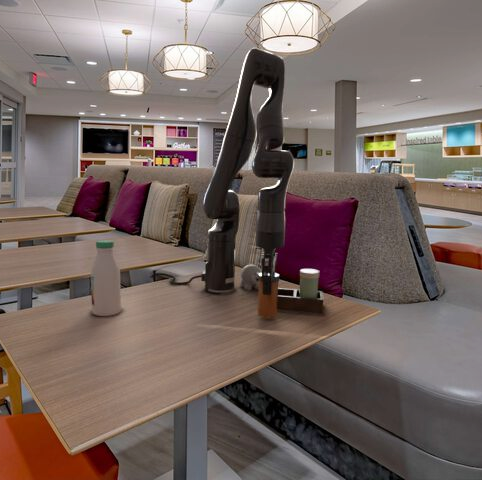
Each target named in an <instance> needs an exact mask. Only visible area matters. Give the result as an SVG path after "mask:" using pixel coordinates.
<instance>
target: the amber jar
mask: <svg viewBox="0 0 482 480" xmlns="http://www.w3.org/2000/svg"><path fill="white" fill-rule="evenodd" d="M265 275H268V276H269V272H265ZM261 277H262V273H259V274H258V280H259V289H257V290H258V293H257V315H258V316H259V317H263V318H275V317H277V315H278V310H277V302H278V288H279V281H280V274H279V273H277V272H275V273H273V274H272V278H273V280H272V287H271V295H264V294H263V280H262V278H261Z"/></svg>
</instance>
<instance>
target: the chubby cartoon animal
mask: <svg viewBox="0 0 482 480" xmlns="http://www.w3.org/2000/svg"><path fill="white" fill-rule="evenodd" d="M259 273H262V270H261V267H259V266H258V265H256V264H247V265H245V266H244V267H243V268H242V270H241V272H240V278H241V280H240V283H239V284H240V287H241V288H244V290H246V291H252V290H253V289H254V290H259V280H258V274H259Z"/></svg>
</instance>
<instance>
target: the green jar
mask: <svg viewBox="0 0 482 480" xmlns="http://www.w3.org/2000/svg"><path fill="white" fill-rule="evenodd" d="M320 274H321V273H320V270H318V269H315V268H301V269H300V270H299V290H300V291H299V297H304V298H316V299H317V294H318V291H319V279H320Z"/></svg>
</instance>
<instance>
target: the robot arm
mask: <svg viewBox="0 0 482 480" xmlns="http://www.w3.org/2000/svg"><path fill="white" fill-rule="evenodd" d="M285 81H286V64H285V60H284V58H283V57H282V56H280V55H278V54H276V53H272V52H269V51H266V50H263V49H261V48H257V47H253V48H251V49H250V50H249V51H248V53H247V54H246V56H245V58H244V62H243V65H242V69H241V74H240V78H239V83H238V88H237V92H236V97H235V101H234V104H233V107H232V110H231V111H232V112H231V115H230V119H229V122H228V123H227V124H228V125H227V128H226V129H225V130H226V131H225V134H224V137H223V141H222V145H221V149H220V152H219V155H218V158H217V160H216V161H217V162H216V165H215V168H214V170H213V174H212V176H211V178H210V181H209V184H208V187H207V189H206V191H205V194H204V196H203V201H202V211H203V213H204V215H205V217H206V218H207V219H209V220H216V222H215V224H214V226H212V227H211V228H210V229H208V231H207V244H206V245H207V249H206V250H207V252H206V254H207V255H206V262H205V266H204V267H205V268H204V270H203V272H202V273H201V274H199V275H194V276H191V278H189V280H188V281H182V282H177V281H175V280H176V276H175V275H171V274H168V273H164V272H157V273H156V272H155V273H153V274H152V275H150V278H151V279H152V278H154V277H156V276H165V277H168V278H171V279H170V280H169V283H170V284H172V285H179V286H180V285H187V284H190V283H191V282H192V281H193V280H195V279H200V278H201V280H200V281H201V282H204V291H205V292H207V293H211V294H217V295H221V294H227V293H232V292H234V291H235V277H236V242H237V240H236V239H237V234H238V231H239V226H240V214H241V213H240V212H241V202H240V197H239V196H238V193H236V192H235V191H234V190H231V189H230V187H231V186H232V183H233V181H234V179H235V178H236V176H237V174H238V173H240V171H241V170H242V168H243V167H244V166H245V165H246V164H247V162H248V161H249V159H250V158H251V155H252V153H253V150H254V146H255V143H256V147H255V152H254V154H253V158H252V162H251V170H252V172H253V174H254V176H256V177H257V178H259V179H277V182H276V183H275V184H274V185H272V186H267V187H263V188H260V189H259V191H258V195H257V213H256V219H255V221H256V222H255V246H256V247H257V248H260V249H261V248H262V249H263V251H262V253H261V254H260V256H261V257H260V260H261V267H260V269H261V271H262V277H261V278H262V280H263V294H264V295H271V287H272V280H273V278H272V274H273V273H276V269H277V260H278V252H277V249H282V248H284V247H285V240H286V239H285V237H286V197H287V190H288V187H289V183H290V181H291V180H290V179H291V176H292V175H293V171H294V167H295V159H294V156H293V154H292V153H291V152H290V151H289V150H281V149H280V150H277V149H279V148H280V147H282V146H283V145H284V143H285V130H284V120H283V118H284V117H283V105H284V96H285V95H284V94H285V83H286V82H285ZM254 86H257V87H261V88H264V89H268V93H269V97H267V99H266V101H265V102H264V103H263V104H262V105H261V107H260V109H259V110H258V113H257V116H256V119H255V116H254V111H253V106H252V97H253V95H252V94H253V90H254ZM265 272H269V276H268V275H265Z"/></svg>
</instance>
